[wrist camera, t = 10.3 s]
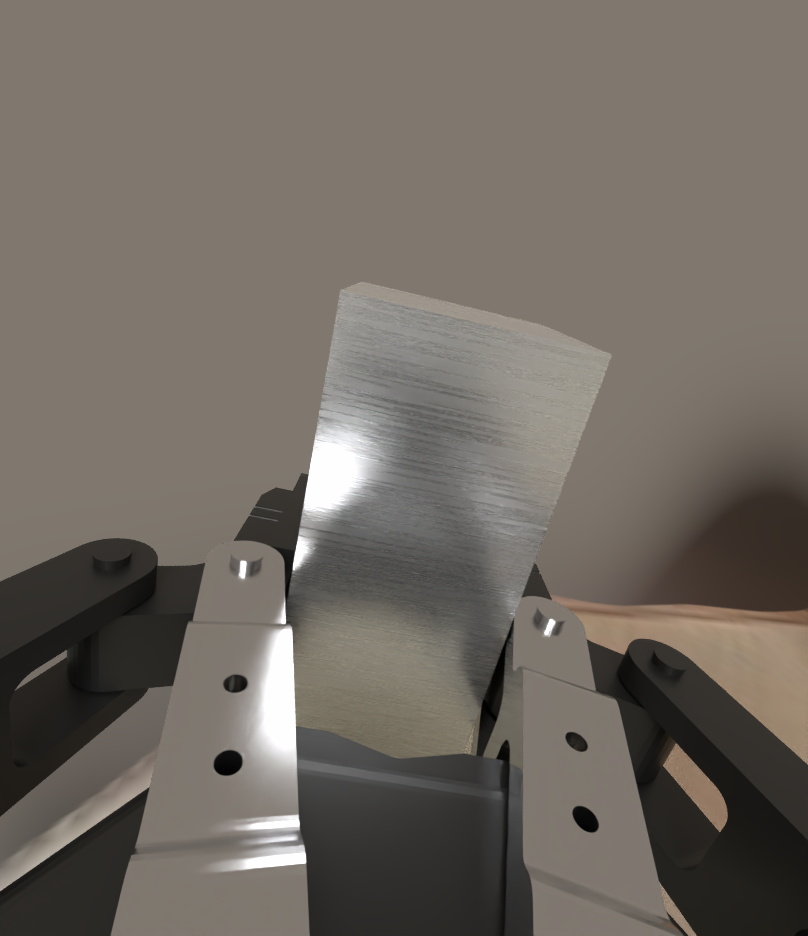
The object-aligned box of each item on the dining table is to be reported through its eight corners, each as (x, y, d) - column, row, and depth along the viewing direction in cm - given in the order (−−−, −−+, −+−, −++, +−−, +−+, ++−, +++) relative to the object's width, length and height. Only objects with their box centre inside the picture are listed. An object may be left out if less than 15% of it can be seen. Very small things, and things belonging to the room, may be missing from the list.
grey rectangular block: (269, 784, 15) (362, 281, 10) (390, 803, 15) (542, 324, 10) (229, 936, 11) (340, 290, 6) (386, 957, 12) (612, 354, 7)
